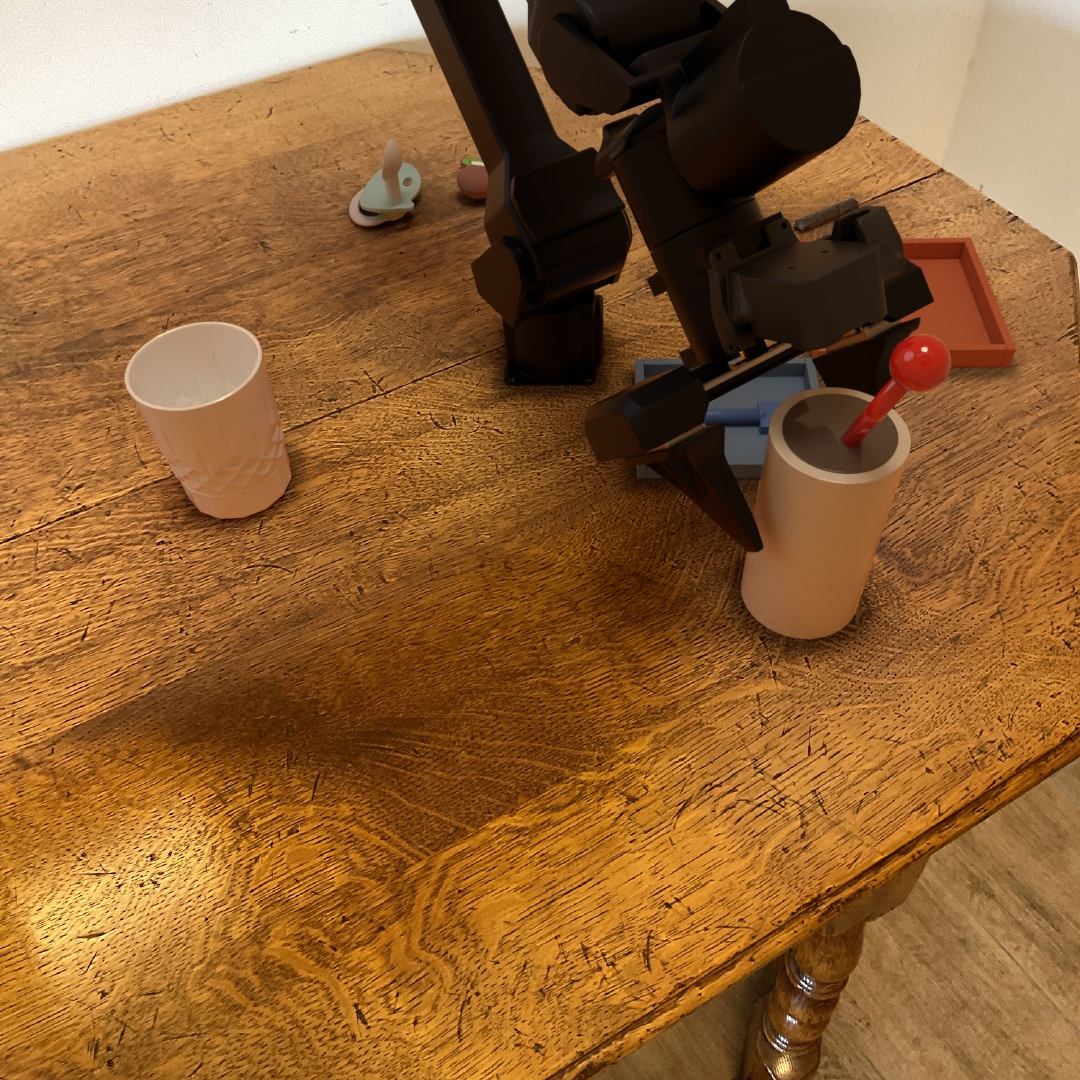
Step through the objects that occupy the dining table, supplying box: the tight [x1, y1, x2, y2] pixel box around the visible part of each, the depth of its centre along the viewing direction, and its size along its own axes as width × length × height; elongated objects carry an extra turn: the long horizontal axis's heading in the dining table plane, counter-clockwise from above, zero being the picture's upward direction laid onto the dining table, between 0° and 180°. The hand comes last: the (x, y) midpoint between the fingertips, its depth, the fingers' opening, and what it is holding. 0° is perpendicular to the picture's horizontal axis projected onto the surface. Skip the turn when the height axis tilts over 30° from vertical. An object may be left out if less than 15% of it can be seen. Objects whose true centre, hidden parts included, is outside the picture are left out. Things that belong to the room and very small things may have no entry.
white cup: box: [124, 321, 292, 520], centre depth 62 cm, size 8×8×10 cm
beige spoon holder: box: [740, 334, 952, 640], centre depth 49 cm, size 8×7×20 cm
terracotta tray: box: [799, 237, 1017, 368], centre depth 73 cm, size 13×13×2 cm
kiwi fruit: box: [456, 157, 488, 200], centre depth 86 cm, size 6×5×3 cm
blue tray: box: [633, 357, 821, 479], centre depth 66 cm, size 12×10×2 cm
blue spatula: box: [704, 402, 782, 434], centre depth 66 cm, size 10×2×1 cm, turn 87°
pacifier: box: [348, 138, 422, 227], centre depth 83 cm, size 7×6×6 cm
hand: (824, 510), depth 52 cm, fingers open, 9 cm apart
